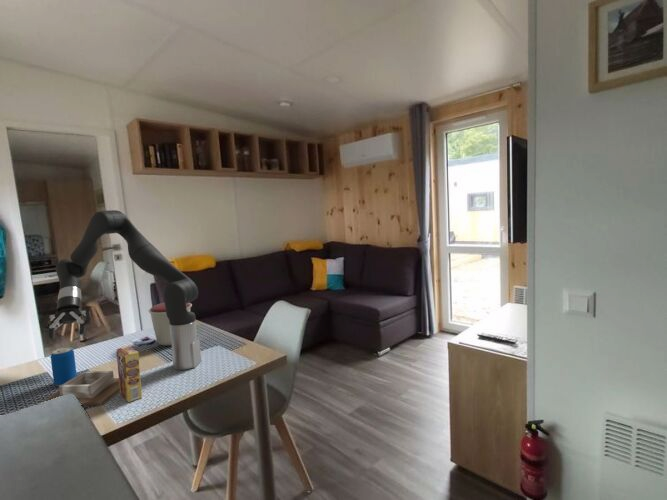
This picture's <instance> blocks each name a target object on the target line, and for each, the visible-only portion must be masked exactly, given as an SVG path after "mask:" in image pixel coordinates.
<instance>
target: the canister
mask: <svg viewBox="0 0 667 500" xmlns="http://www.w3.org/2000/svg"><path fill="white" fill-rule="evenodd" d="M192 306H193V304H192V303H191V302H189V303H186V308H187V311H189V312H191V308H192ZM148 313H149V314H150V317H151V322H152V327H153V330H154V334H155V339H156V341H157V343H158V345H161V346H166V347H167V346H171V335H170V323H169V319H168V317H167V315H166V308H165V302H161V303H158V304H155V305H153V306H152V307H151V308H150V307H149V309H148Z"/></svg>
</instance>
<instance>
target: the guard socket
mask: <svg viewBox="0 0 667 500" xmlns="http://www.w3.org/2000/svg"><path fill="white" fill-rule="evenodd" d="M114 376H115V375H114V370H99V371H96V370H95V371H83V372H81V373H80V374H79V373H78V374H77V376H76V377H74V378H73V379H71V380H69V381H68V382H66V383H64V384H63V385H61V386H58V391H57V392H55V393H53V394H51V395H50V396H49V397H47V398H45V399H44V400H42V401H41V402H44V401H48V400H51V399H53V398H56V397H59V396H63V395H67V394H73V395H75V396H76V398H77V399H78V400H79V402H80V403H81V404H82V405H83V406H82V407H89V406H90V407H94V406H95V407H96V406H99V407H100V406H103V405H104V404H106V403H107V402H109V400H110V399H111V398H113V397H114V396H115V395H117V394H118V393H120V385H119V377H114ZM41 402H39V403H41Z"/></svg>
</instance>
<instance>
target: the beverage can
mask: <svg viewBox="0 0 667 500" xmlns="http://www.w3.org/2000/svg"><path fill="white" fill-rule="evenodd" d="M75 356H76V355H75V351H74V350H73V348H72V347H70V346H69V347H61V348H57V349H55V350H53V351H51V355H50V364H51V370H52V378H53V384H54V385H55V386H57V387H59V386H61V385H63V384H64V383H66V382H68V381H69V380H71V379H73V378H74V377H76V376H77V375H78V373H77V367H76V365H77V364H76V358H75Z"/></svg>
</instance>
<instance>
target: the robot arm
mask: <svg viewBox="0 0 667 500" xmlns="http://www.w3.org/2000/svg"><path fill="white" fill-rule="evenodd" d="M109 234H118V235H119V236H120V237H122V238H123V240H125V242H126V243H127V252H128V256H129V259H131V261H132V262H133V263H134V264H135V265H137V267H138V268H140V270H142V271H143V272H145V273H146V274H147V273H148V274H150V275H151V276H154V277H156V278H159V279H161V280H164V281H165V282H166V283H167V284H166V285H165V287H164V290H163V300H164V302H165V308H166V315H167V317H168V319H169V323H170V335H171V345H170V346H171V354H172V355H171V356H172V365H173V367H172V368H173V369H174V370H176V371H182V370H185V371H186V370H188V369H194V368H196V367H197V366H198V365H199V364H200V363H201V362H202V354H201V340H200V338H199V337H198V333H197V332H198V331H197V330H198V329H197V318H196V313H195V312H193V311H190V312H189V311H187V308H186V303H191V302H193V301H195V300H196V299H197V298H198V296H199V289H198V286H197V284H196V283H195V281H193V280H192V279H191V278H190V277H189V276H188V275H186V274H185V273H183V272H182V271H181V270H180V269H178V268H177V267H176V266H175V265H174V264H173V263H172V262H171V261H169V260H168V259H167V258H166V256H164V255H163V254H162V253H161V252H160V250H158V248H156V246H154V245H153V244H152V243H151V242H150V241H149V240H148V239H147V238H146V237H145V236H144V235H143V234H142V233H141V232H140V231H139V230H138V229H137V228H136V226H135V225H134V224H133V222H132V221H131V220H130V219H129V217H128V216H127V215H125V213H124V212H122V211H120V210H114V209H113V210H111V209H109V210H99V211H96V212H95V213H94V214H93V215H92V216H91V218H90V220H89V223H88V225H87V227H86V229H85V231H84V233H83V236H82V238H81V241H80V242H79V243H78V245H77V246H76V247H75V249H74V250H73V251H72V253H71V254H70V259H68V258H62V259H60V260H59V261H58V262H57V263H56V265H55V271H56V274H57V278H58V282H59V291H58V295H57V305H56V312H55V314H49V313H46V314H45V316H44V322H43V329H44V331H46V332H48V337H49V339H50V340H52V341H54V340H55V339H56V330H57V329H58V328H59V327H61V326H62V325H67V324H74V323H77V324H78V325H79V329H78V332H79V335H80V336H83V334H85V333H86V332H85V331H86V326H88V325H91V324H92V317H91V316H92V315H91V311H90V308H85V310H82V298H83V297H82V280H81V278H83V277H85V275H86V274H87V272H88V266H89V263H90V262H91V261H92V260H93V258H94V257H95V256H96V254H97V253H98V250H99V244H98V240H99V239H100V238H101V237H102V236H104V235H109ZM164 302H163V303H164ZM82 315H83V316H85V320H83V319H82V318H81V316H82ZM54 319H55V320H54ZM52 321H53V323H52V324H51V322H52Z"/></svg>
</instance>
